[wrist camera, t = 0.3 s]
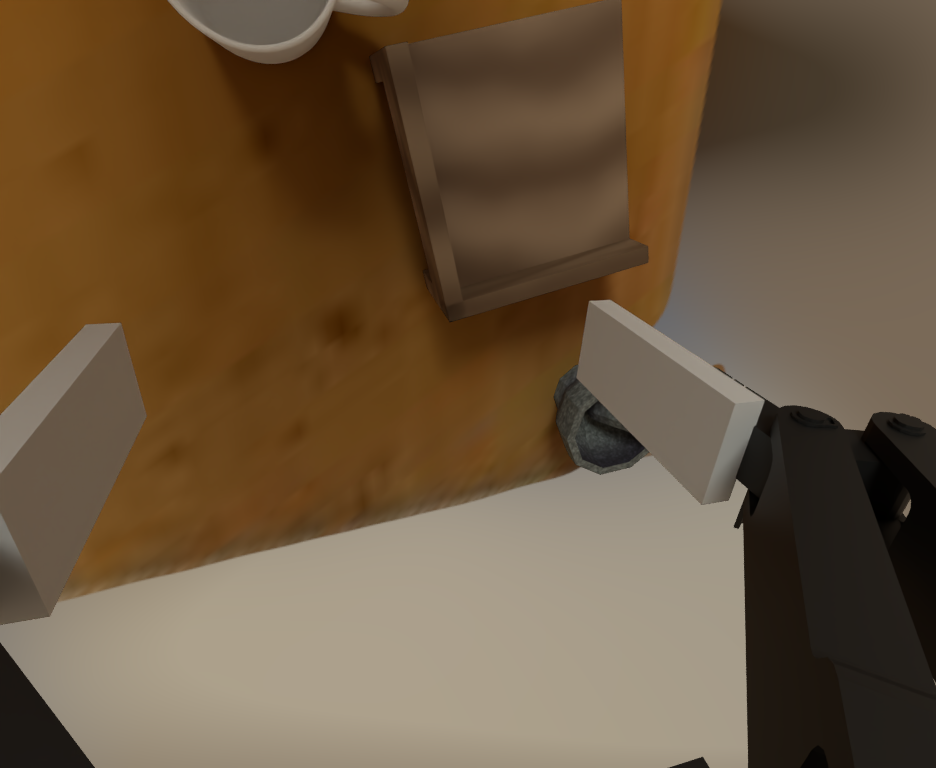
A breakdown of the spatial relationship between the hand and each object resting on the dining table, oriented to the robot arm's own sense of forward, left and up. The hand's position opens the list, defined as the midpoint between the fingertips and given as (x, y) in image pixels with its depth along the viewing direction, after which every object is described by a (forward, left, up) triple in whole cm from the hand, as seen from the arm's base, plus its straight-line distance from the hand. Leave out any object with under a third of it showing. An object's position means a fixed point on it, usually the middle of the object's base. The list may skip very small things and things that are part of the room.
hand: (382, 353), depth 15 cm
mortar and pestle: (+22, +18, -26) cm, 39 cm away
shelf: (0, +12, -26) cm, 29 cm away
